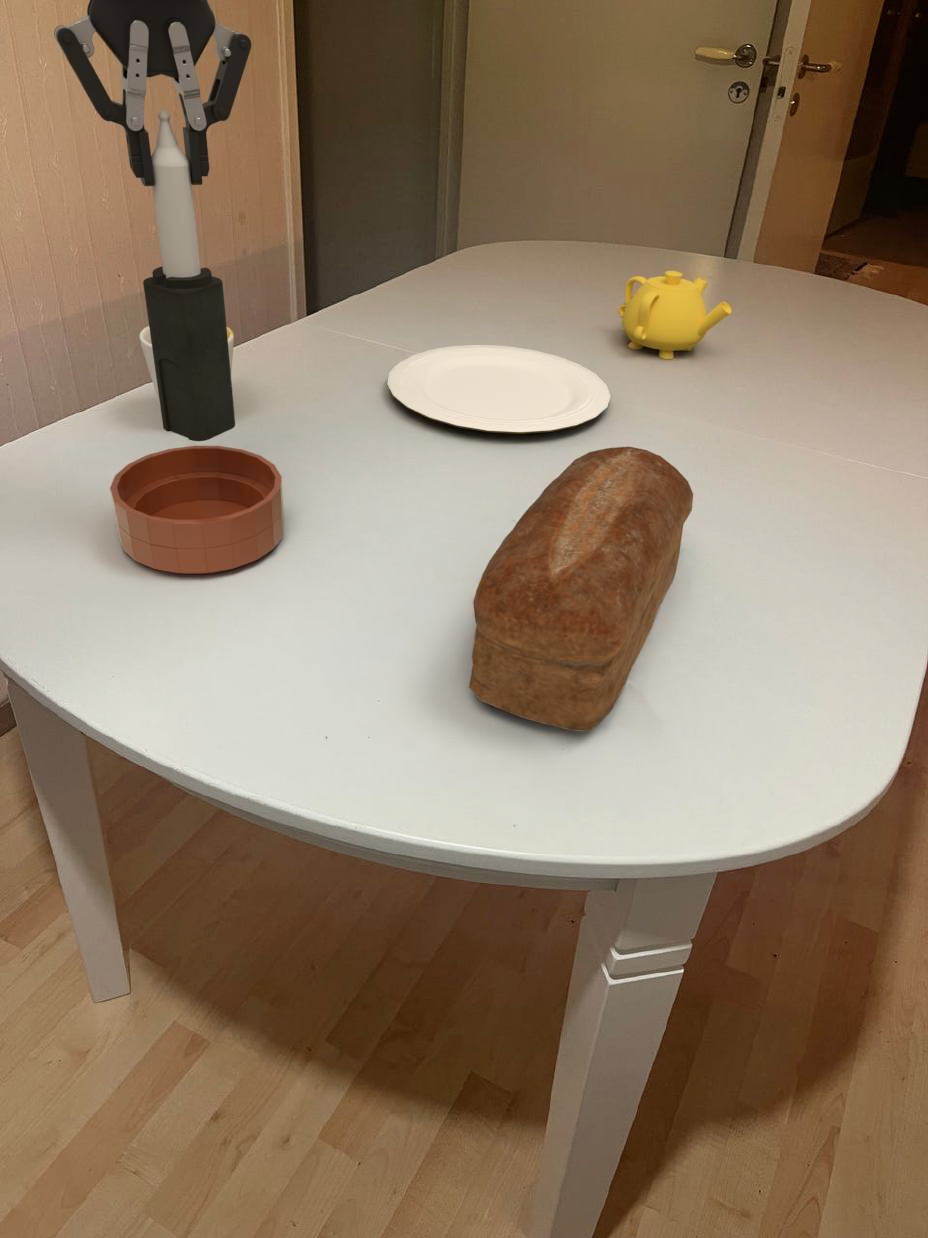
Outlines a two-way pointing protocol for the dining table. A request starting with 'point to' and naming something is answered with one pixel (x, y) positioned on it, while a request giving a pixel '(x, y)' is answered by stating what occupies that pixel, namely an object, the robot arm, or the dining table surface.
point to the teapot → (668, 313)
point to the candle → (185, 308)
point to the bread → (579, 588)
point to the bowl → (198, 508)
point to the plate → (498, 389)
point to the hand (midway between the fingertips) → (171, 182)
